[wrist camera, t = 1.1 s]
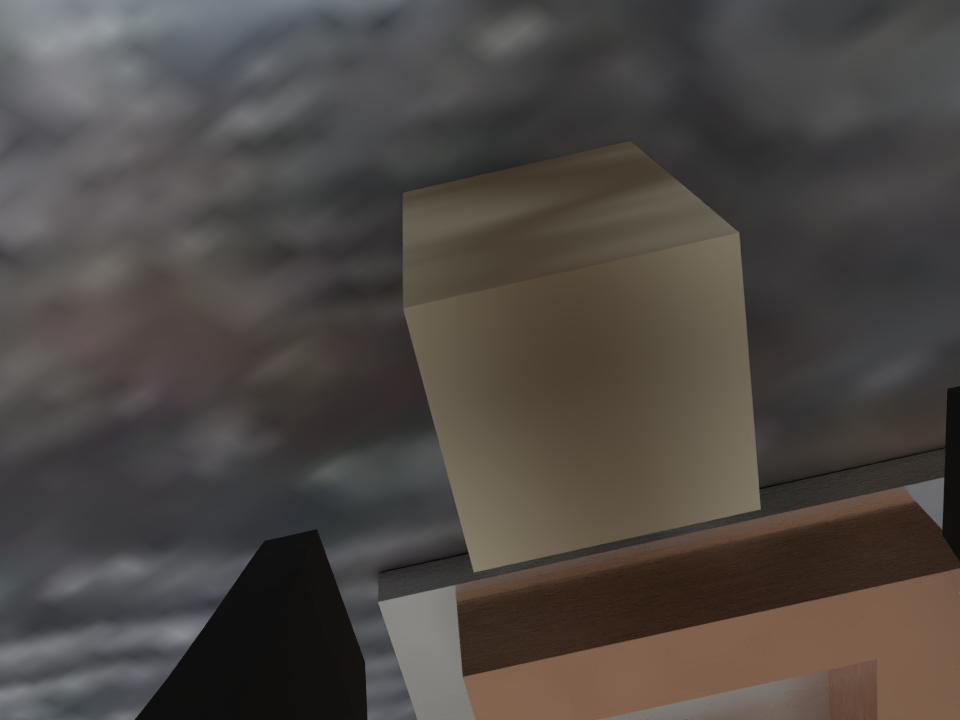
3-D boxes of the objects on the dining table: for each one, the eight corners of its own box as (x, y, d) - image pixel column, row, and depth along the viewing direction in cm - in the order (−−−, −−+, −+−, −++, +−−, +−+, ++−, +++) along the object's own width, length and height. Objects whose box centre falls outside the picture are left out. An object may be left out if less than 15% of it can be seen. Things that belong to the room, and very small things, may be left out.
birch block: (630, 140, 17) (739, 232, 11) (656, 346, 19) (761, 509, 13) (402, 192, 17) (403, 308, 11) (453, 391, 19) (473, 572, 13)
